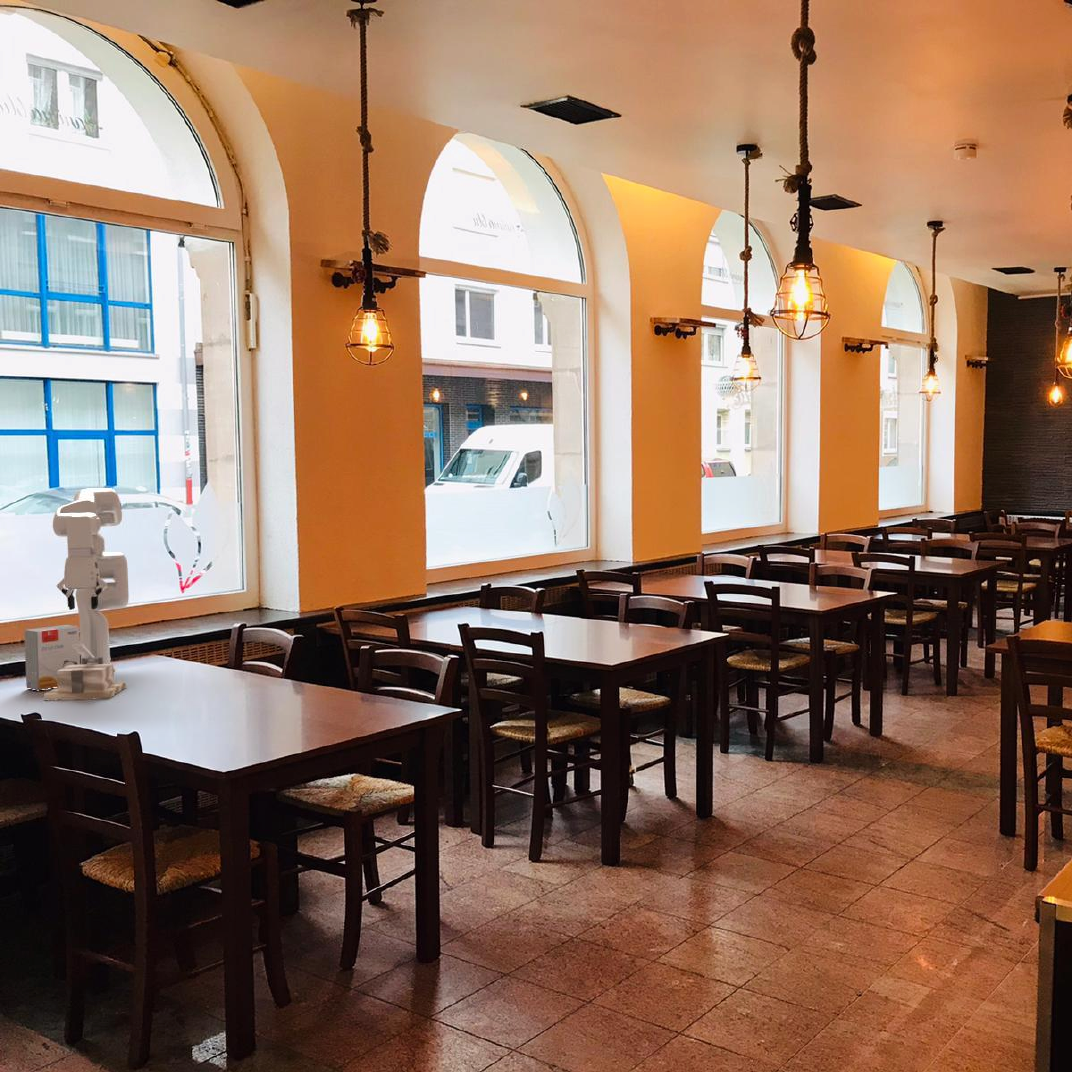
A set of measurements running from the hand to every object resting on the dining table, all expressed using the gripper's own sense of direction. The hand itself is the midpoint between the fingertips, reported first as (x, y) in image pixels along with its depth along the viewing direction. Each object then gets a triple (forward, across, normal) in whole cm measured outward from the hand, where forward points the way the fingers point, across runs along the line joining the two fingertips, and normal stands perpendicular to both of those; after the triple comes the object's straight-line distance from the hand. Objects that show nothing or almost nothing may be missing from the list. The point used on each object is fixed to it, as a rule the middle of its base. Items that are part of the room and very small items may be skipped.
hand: (83, 608), depth 363 cm
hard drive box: (+28, +15, -12) cm, 34 cm away
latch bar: (+15, 0, +1) cm, 15 cm away
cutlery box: (+28, 0, +1) cm, 28 cm away
